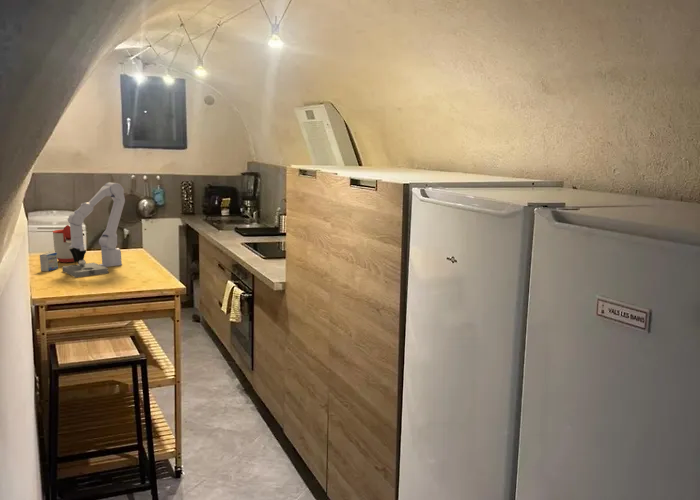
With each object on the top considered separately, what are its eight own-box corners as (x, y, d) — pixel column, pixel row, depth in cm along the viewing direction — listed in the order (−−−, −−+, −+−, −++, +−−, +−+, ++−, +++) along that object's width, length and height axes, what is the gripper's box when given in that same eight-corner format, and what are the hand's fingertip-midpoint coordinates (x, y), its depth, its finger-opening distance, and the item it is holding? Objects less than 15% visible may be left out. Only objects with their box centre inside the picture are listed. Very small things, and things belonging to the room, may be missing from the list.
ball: (84, 265, 337) (84, 258, 336) (87, 266, 334) (86, 259, 333) (77, 265, 334) (77, 259, 334) (79, 267, 332) (79, 260, 331)
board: (94, 267, 344) (94, 262, 344) (108, 273, 329) (108, 268, 329) (62, 271, 334) (62, 266, 334) (75, 277, 319) (75, 272, 319)
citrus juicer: (55, 265, 350) (53, 228, 347) (53, 259, 365) (51, 224, 362) (87, 262, 357) (84, 226, 354) (83, 257, 372) (81, 222, 369)
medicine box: (48, 271, 333) (47, 254, 332) (40, 271, 334) (39, 254, 333) (58, 268, 341) (57, 252, 339) (50, 268, 342) (49, 251, 340)
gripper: (64, 235, 339) (66, 261, 341) (73, 239, 328) (75, 265, 330) (78, 234, 343) (80, 260, 345) (87, 237, 332) (89, 264, 334)
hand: (78, 262), depth 338 cm, fingers open, 5 cm apart
